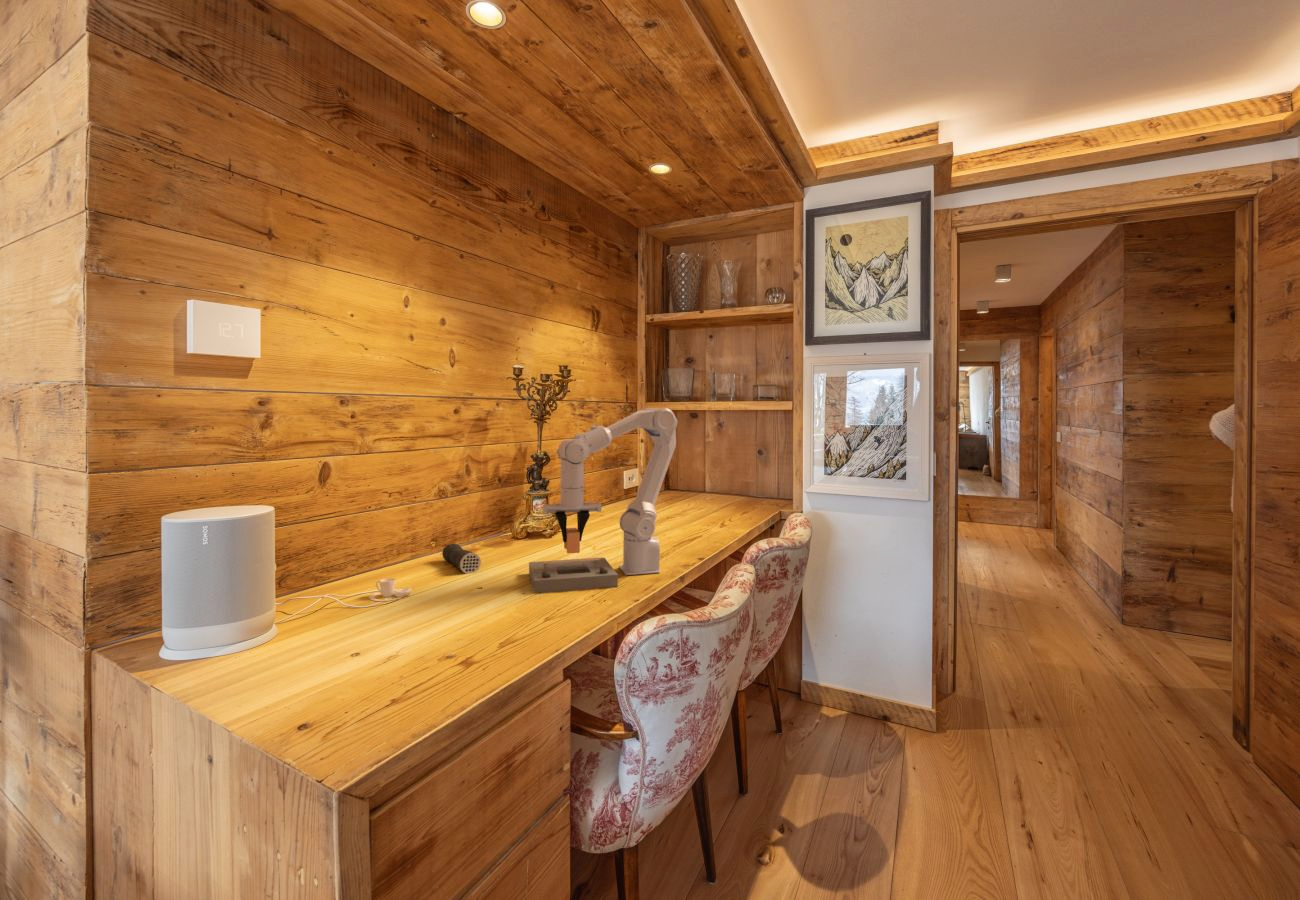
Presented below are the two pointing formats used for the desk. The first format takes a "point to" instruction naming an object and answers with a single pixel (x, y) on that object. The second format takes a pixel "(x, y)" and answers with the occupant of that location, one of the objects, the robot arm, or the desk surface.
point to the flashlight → (461, 558)
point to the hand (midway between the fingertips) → (572, 540)
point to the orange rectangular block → (572, 540)
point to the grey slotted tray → (572, 575)
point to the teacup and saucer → (389, 590)
